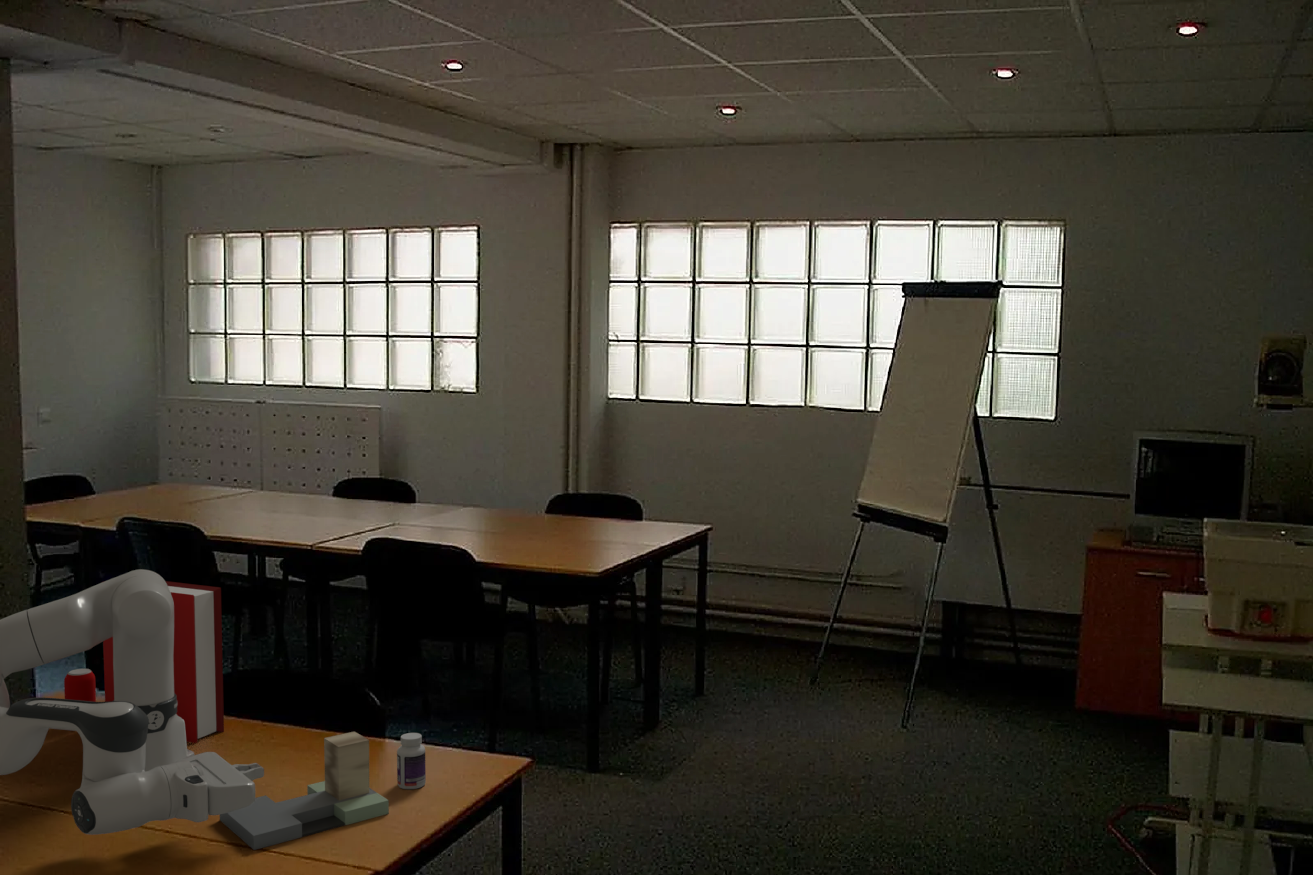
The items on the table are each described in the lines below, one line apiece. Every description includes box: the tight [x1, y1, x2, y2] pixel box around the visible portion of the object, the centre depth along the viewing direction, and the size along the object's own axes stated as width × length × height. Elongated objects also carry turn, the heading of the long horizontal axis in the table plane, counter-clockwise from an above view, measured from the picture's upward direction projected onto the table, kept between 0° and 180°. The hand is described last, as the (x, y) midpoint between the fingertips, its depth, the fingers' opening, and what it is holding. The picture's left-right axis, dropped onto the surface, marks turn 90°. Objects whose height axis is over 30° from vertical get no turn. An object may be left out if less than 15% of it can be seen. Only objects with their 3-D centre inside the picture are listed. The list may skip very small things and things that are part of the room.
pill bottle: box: [396, 732, 427, 790], centre depth 232 cm, size 5×5×10 cm
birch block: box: [323, 731, 370, 800], centre depth 222 cm, size 6×6×10 cm
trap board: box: [219, 780, 390, 851], centre depth 217 cm, size 16×25×2 cm, turn 130°
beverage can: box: [63, 668, 97, 702], centre depth 266 cm, size 6×6×12 cm
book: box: [102, 580, 225, 744], centre depth 262 cm, size 27×8×32 cm, turn 67°
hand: (260, 769), depth 210 cm, fingers closed
